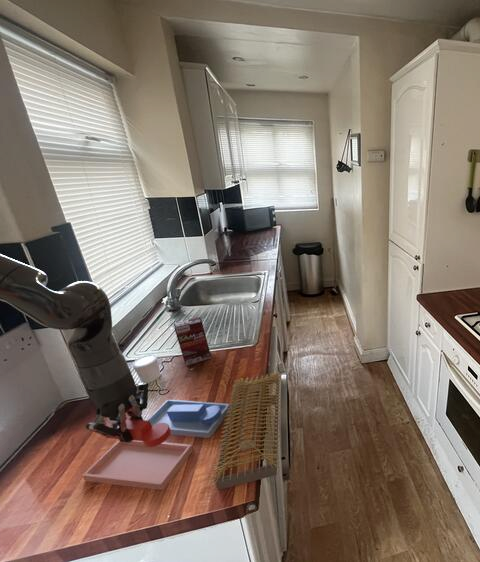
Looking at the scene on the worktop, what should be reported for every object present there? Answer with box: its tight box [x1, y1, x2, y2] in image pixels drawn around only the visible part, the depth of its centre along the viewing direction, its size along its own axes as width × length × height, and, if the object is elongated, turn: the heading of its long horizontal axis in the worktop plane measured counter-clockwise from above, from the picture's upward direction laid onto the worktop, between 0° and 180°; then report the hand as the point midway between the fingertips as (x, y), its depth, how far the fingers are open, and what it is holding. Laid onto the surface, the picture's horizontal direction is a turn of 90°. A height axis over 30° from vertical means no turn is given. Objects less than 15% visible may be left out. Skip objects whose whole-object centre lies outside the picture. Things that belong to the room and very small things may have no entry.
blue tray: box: [145, 398, 231, 439], centre depth 87 cm, size 20×10×2 cm, turn 83°
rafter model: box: [209, 370, 281, 491], centre depth 84 cm, size 35×14×6 cm, turn 15°
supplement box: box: [173, 316, 212, 367], centre depth 111 cm, size 9×5×16 cm, turn 123°
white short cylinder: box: [131, 354, 161, 384], centre depth 104 cm, size 7×7×7 cm
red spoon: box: [105, 418, 171, 447], centre depth 70 cm, size 15×5×4 cm, turn 83°
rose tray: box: [81, 439, 194, 491], centre depth 74 cm, size 20×10×2 cm, turn 83°
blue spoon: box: [166, 404, 221, 425], centre depth 86 cm, size 15×5×4 cm, turn 83°
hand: (133, 435), depth 71 cm, fingers closed on red spoon, 2 cm apart
